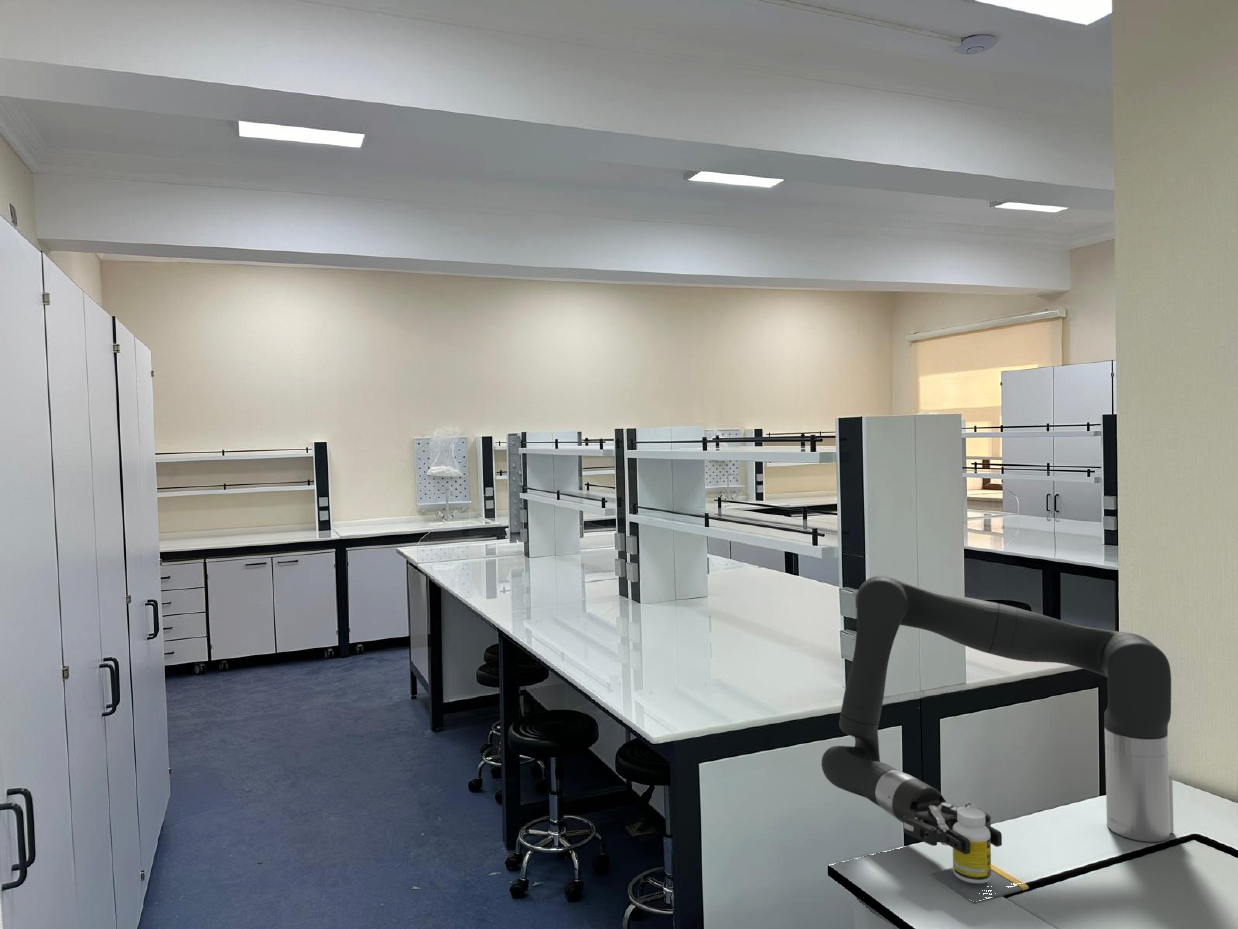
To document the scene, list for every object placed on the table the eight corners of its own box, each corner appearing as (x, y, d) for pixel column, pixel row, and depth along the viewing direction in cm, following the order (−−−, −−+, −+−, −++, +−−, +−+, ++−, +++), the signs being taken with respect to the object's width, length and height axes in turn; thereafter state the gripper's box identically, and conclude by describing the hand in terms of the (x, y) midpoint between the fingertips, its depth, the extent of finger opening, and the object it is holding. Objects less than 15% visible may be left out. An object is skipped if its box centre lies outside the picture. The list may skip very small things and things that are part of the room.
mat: (983, 861, 134) (983, 859, 134) (1028, 888, 126) (1028, 886, 126) (931, 875, 131) (931, 872, 131) (974, 903, 122) (974, 900, 122)
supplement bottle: (995, 886, 125) (993, 821, 125) (956, 883, 126) (955, 819, 126) (986, 868, 130) (985, 805, 130) (950, 865, 131) (948, 804, 131)
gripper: (873, 785, 139) (945, 828, 123) (942, 771, 144) (1021, 811, 128) (874, 830, 139) (946, 878, 123) (943, 814, 144) (1022, 859, 128)
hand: (984, 844), depth 126 cm, fingers closed on supplement bottle, 5 cm apart
